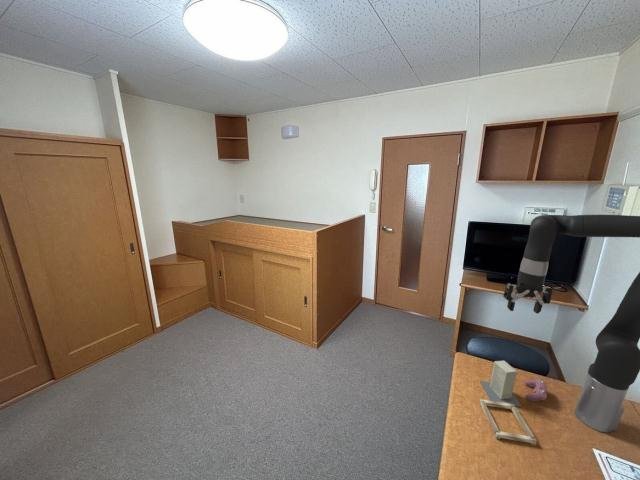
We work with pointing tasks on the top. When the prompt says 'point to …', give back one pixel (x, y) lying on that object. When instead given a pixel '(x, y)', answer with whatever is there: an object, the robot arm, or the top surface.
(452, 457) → the top surface
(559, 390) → the top surface
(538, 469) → the top surface
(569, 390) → the top surface
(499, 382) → the skincare box
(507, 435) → the wooden rectangular frame
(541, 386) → the video game controller
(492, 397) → the coaster
